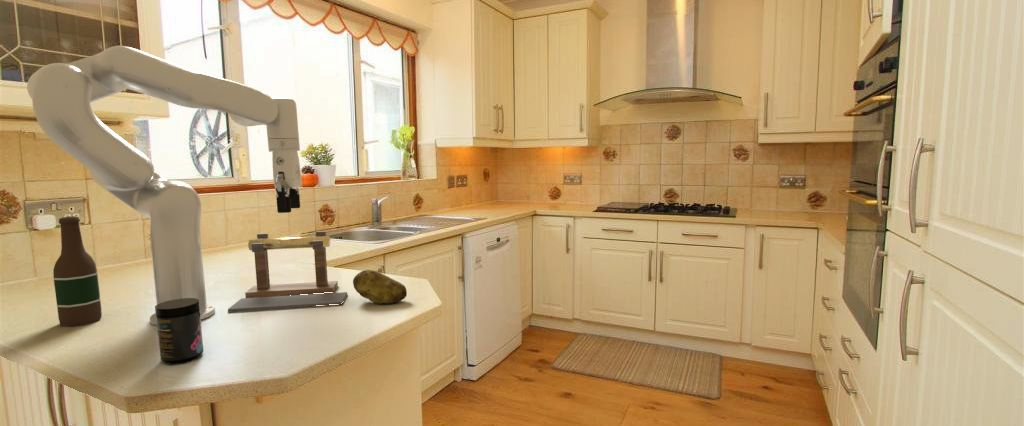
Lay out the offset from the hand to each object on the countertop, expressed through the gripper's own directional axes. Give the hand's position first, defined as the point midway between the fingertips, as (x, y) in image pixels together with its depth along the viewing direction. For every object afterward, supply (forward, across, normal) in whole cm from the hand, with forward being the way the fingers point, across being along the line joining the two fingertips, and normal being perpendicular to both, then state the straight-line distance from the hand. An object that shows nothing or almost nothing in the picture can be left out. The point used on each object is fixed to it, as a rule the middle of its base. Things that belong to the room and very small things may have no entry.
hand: (289, 210), depth 133 cm
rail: (+9, 0, 0) cm, 9 cm away
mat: (+22, -12, -1) cm, 25 cm away
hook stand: (+22, 0, +1) cm, 22 cm away
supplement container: (+22, -44, +10) cm, 50 cm away
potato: (+23, -16, -24) cm, 36 cm away
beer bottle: (+22, -16, +43) cm, 50 cm away
